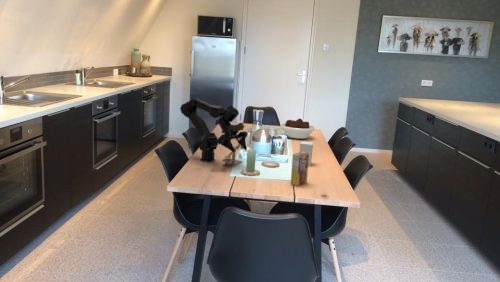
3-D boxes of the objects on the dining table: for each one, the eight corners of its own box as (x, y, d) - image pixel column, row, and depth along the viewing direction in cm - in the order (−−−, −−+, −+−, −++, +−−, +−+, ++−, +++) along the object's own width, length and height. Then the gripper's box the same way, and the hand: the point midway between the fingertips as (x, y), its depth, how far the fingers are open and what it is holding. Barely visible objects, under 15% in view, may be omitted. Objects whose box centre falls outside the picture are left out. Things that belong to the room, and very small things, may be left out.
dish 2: (258, 165, 233) (258, 163, 232) (265, 161, 241) (266, 160, 241) (275, 168, 228) (275, 167, 228) (281, 164, 237) (282, 163, 237)
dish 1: (237, 173, 214) (237, 171, 214) (245, 169, 223) (246, 167, 223) (254, 177, 210) (254, 175, 210) (262, 172, 219) (263, 171, 218)
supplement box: (310, 166, 239) (312, 144, 236) (297, 164, 240) (299, 143, 237) (311, 163, 246) (313, 142, 243) (298, 161, 247) (300, 141, 245)
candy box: (299, 180, 209) (302, 151, 206) (307, 182, 206) (310, 152, 203) (289, 184, 202) (292, 153, 199) (297, 186, 199) (300, 155, 196)
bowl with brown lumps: (315, 142, 308) (317, 122, 305) (281, 140, 308) (283, 120, 305) (310, 136, 333) (312, 117, 330) (279, 133, 333) (281, 115, 330)
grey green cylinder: (244, 171, 216) (245, 150, 214) (250, 169, 219) (251, 149, 217) (250, 173, 213) (251, 152, 211) (256, 171, 216) (257, 151, 214)
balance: (219, 166, 225) (220, 147, 223) (236, 159, 242) (237, 141, 240) (229, 168, 223) (230, 149, 221) (245, 161, 240) (246, 143, 238)
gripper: (222, 119, 212) (237, 144, 207) (246, 116, 226) (260, 140, 221) (210, 131, 218) (225, 156, 214) (234, 128, 232) (248, 151, 228)
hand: (240, 150), depth 219 cm, fingers open, 9 cm apart
